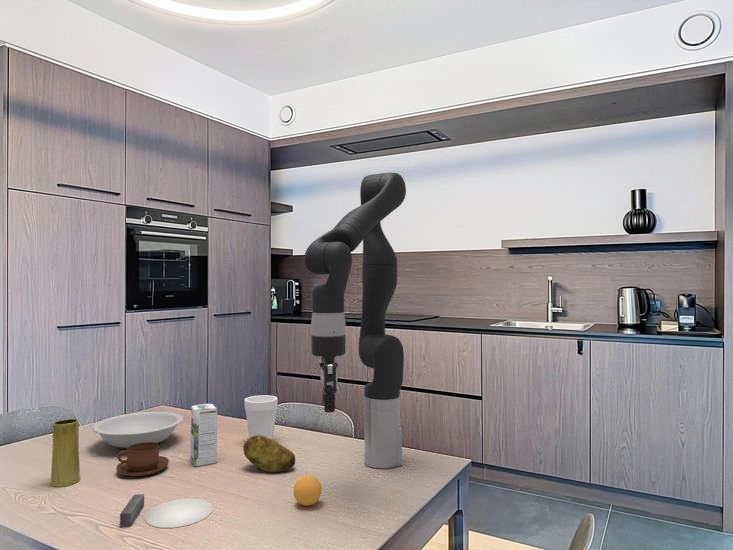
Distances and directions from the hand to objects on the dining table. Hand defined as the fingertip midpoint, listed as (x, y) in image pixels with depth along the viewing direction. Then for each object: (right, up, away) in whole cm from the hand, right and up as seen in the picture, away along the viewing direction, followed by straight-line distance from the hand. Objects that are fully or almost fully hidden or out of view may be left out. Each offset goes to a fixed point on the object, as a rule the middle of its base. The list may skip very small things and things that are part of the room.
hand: (328, 407), depth 112 cm
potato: (-16, -20, +16) cm, 31 cm away
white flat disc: (-30, -20, -8) cm, 37 cm away
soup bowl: (-58, -21, +37) cm, 71 cm away
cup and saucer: (-48, -20, +16) cm, 54 cm away
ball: (-4, -17, -4) cm, 17 cm away
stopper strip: (-39, -20, -9) cm, 44 cm away
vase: (-63, -20, +9) cm, 66 cm away
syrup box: (-34, -20, +22) cm, 45 cm away
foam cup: (-22, -20, +37) cm, 48 cm away
